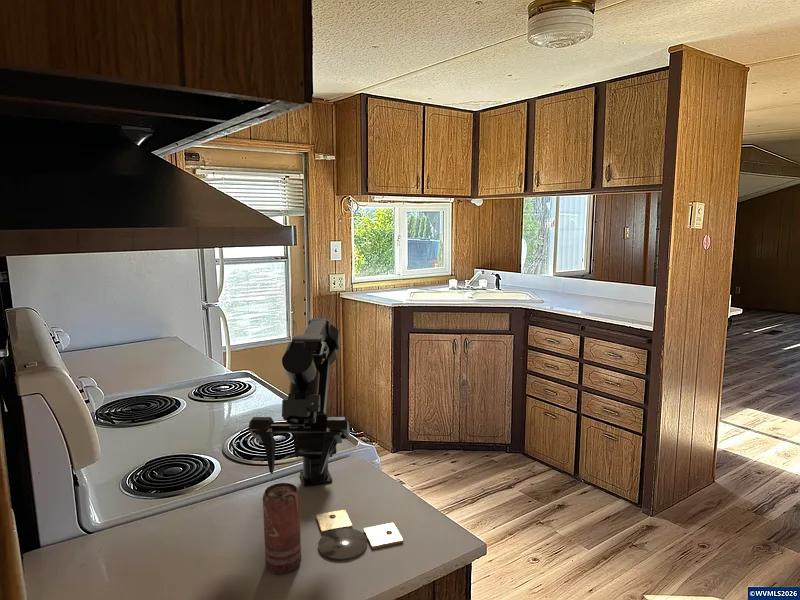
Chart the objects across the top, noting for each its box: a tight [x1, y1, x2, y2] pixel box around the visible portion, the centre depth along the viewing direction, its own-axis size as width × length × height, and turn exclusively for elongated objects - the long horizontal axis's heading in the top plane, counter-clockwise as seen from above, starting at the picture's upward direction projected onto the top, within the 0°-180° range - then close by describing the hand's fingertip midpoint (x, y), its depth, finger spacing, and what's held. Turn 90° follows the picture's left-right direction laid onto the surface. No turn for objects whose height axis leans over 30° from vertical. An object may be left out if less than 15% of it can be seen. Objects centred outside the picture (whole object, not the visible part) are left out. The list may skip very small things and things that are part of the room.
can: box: [262, 482, 302, 575], centre depth 96 cm, size 6×6×14 cm
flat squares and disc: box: [315, 509, 404, 561], centre depth 106 cm, size 15×15×1 cm
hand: (295, 473), depth 102 cm, fingers open, 9 cm apart
